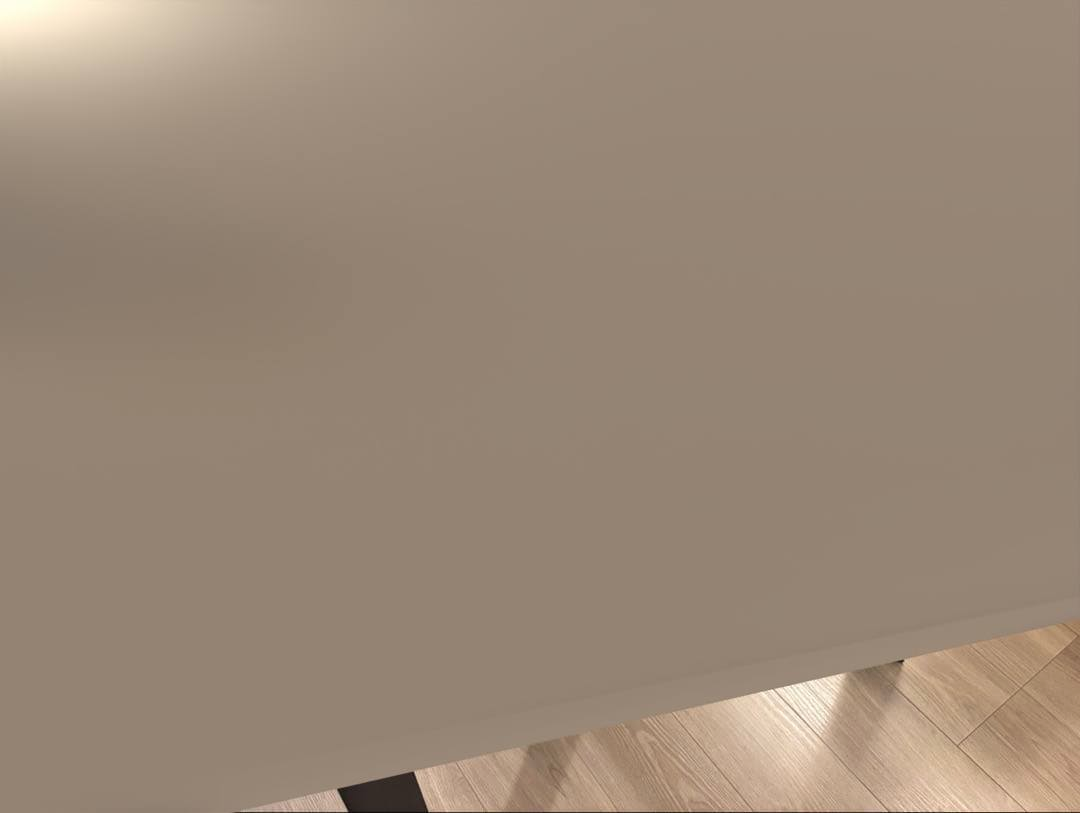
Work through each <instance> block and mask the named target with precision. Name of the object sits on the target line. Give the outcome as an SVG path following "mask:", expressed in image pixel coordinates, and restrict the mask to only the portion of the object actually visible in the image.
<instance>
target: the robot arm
mask: <svg viewBox="0 0 1080 813" xmlns="http://www.w3.org/2000/svg"><path fill="white" fill-rule="evenodd" d="M1079 620H1080V0H0V813H237V812H241V811H246V810H250V809H255V808H260V807H263V806H268V805H272V804H277V803H281V802H285V801H286V802H287V801H289V800H293V799H299V798H302V797H308V796H312V795H315V794H321V793H324V792H329V791H333V790H338V789H342V788H347V787H351V786H356V785H360V784H364V783H369V782H373V781H377V780H382V779H386V778H391V777H395V776H399V775H404V774H409V773H412V772H417V771H422V770H426V769H430V768H434V767H438V766H439V767H440V766H443V765H448V764H452V763H456V762H461V761H466V760H469V759H473V758H474V759H475V758H478V757H483V756H486V755H487V756H488V755H492V754H495V753H501V752H505V751H510V750H513V749H517V748H522V747H527V746H530V745H535V744H536V745H537V744H540V743H544V742H548V741H554V740H558V739H562V738H566V737H571V736H574V735H575V736H576V735H578V734H584V733H588V732H592V731H596V730H602V729H606V728H609V727H614V726H619V725H623V724H627V723H631V722H636V721H641V720H645V719H649V718H653V717H657V716H662V715H666V714H671V713H675V712H680V711H684V710H688V709H693V708H698V707H701V706H707V705H710V704H711V705H712V704H715V703H719V702H725V701H728V700H734V699H737V698H742V697H746V696H750V695H755V694H758V693H763V692H767V691H771V690H777V689H781V688H785V687H789V686H794V685H798V684H803V683H807V682H811V681H815V680H820V679H825V678H829V677H832V676H838V675H843V674H847V673H851V672H855V671H860V670H864V669H865V670H866V669H869V668H872V667H878V666H882V665H886V664H890V663H896V662H899V661H904V660H908V659H912V658H916V657H921V656H925V655H930V654H934V653H935V654H936V653H938V652H943V651H948V650H953V649H957V648H960V647H966V646H969V645H973V644H978V643H982V642H987V641H991V640H996V639H1000V638H1005V637H1009V636H1013V635H1017V634H1023V633H1027V632H1031V631H1035V630H1039V629H1044V628H1049V627H1053V626H1056V625H1057V626H1058V625H1062V624H1066V623H1070V622H1074V621H1079Z"/></svg>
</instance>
